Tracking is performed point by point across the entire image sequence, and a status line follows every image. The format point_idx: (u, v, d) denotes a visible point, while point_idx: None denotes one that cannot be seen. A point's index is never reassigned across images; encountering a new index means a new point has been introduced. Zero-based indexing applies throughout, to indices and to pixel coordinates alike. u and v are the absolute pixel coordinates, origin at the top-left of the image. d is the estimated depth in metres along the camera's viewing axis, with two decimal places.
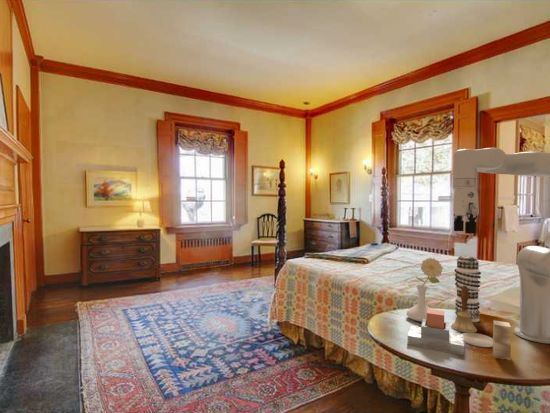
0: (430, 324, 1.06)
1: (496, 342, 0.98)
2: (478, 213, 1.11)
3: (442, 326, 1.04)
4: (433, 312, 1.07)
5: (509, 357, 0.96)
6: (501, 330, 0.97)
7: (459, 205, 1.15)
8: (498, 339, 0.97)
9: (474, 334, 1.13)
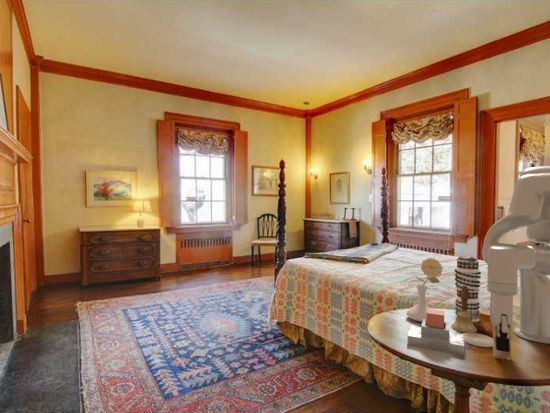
0: (430, 324, 1.06)
1: None
2: None
3: (442, 326, 1.04)
4: (433, 312, 1.07)
5: (509, 357, 0.96)
6: None
7: None
8: None
9: (474, 334, 1.13)
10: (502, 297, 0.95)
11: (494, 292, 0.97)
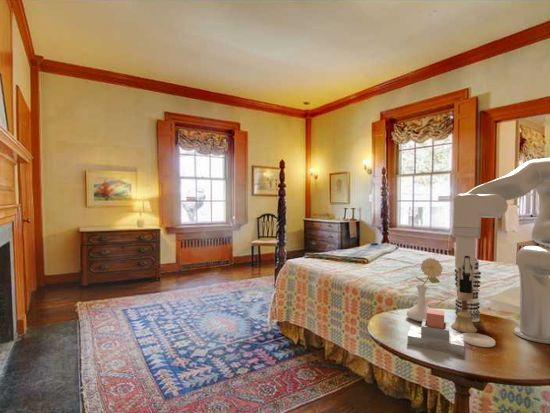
0: (430, 324, 1.06)
1: (459, 285, 1.02)
2: None
3: (442, 326, 1.04)
4: (433, 312, 1.07)
5: (471, 298, 1.00)
6: None
7: None
8: None
9: (474, 334, 1.13)
10: (466, 240, 0.99)
11: (458, 236, 1.01)
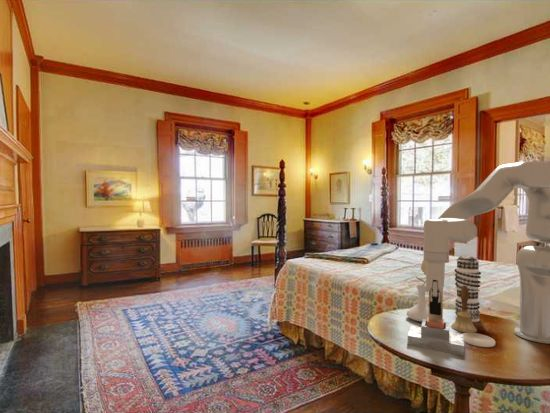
0: None
1: None
2: None
3: None
4: None
5: (441, 320, 1.05)
6: None
7: None
8: None
9: (474, 334, 1.13)
10: (434, 264, 1.03)
11: (428, 260, 1.05)
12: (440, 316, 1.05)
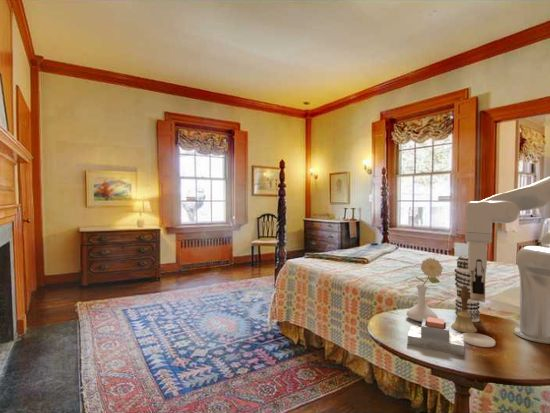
0: None
1: None
2: None
3: None
4: (433, 320, 1.07)
5: (484, 299, 1.07)
6: None
7: None
8: None
9: (474, 334, 1.13)
10: (478, 244, 1.06)
11: (471, 241, 1.08)
12: (483, 295, 1.07)
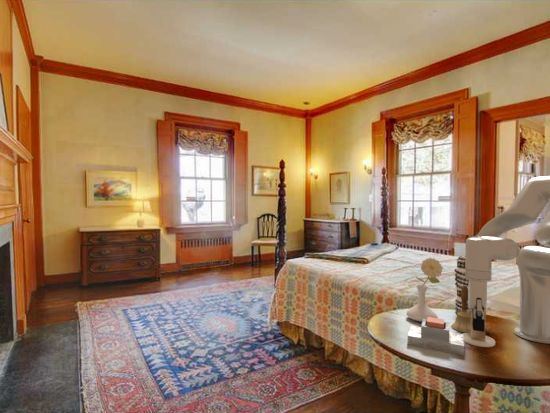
0: None
1: (472, 325, 1.09)
2: None
3: None
4: (433, 320, 1.07)
5: (484, 338, 1.07)
6: None
7: None
8: None
9: None
10: (477, 283, 1.06)
11: (470, 278, 1.08)
12: (483, 335, 1.07)
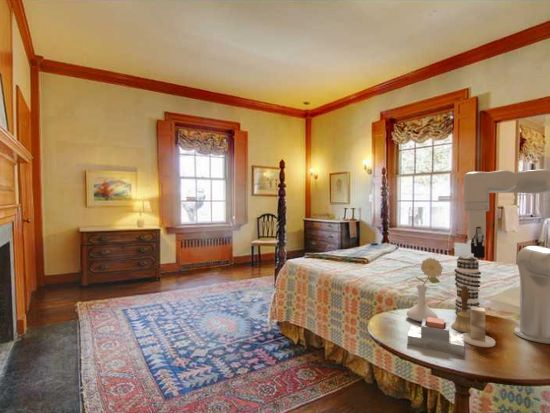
0: None
1: (472, 325, 1.09)
2: None
3: None
4: (433, 320, 1.07)
5: (484, 338, 1.07)
6: (477, 314, 1.08)
7: None
8: (474, 322, 1.09)
9: None
10: (477, 212, 1.11)
11: (470, 210, 1.13)
12: (483, 335, 1.07)
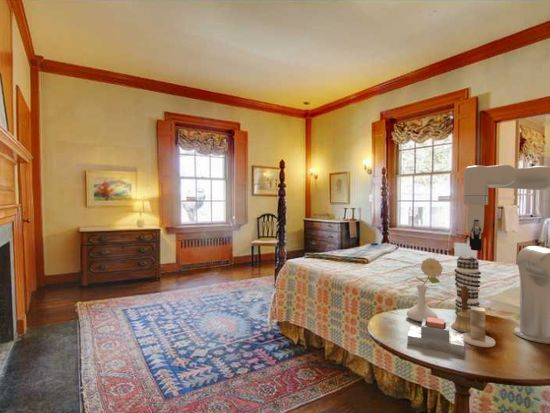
0: None
1: (472, 325, 1.09)
2: None
3: None
4: (433, 320, 1.07)
5: (484, 338, 1.07)
6: (477, 314, 1.08)
7: None
8: (474, 322, 1.09)
9: None
10: (475, 206, 1.12)
11: (468, 203, 1.15)
12: (483, 335, 1.07)
